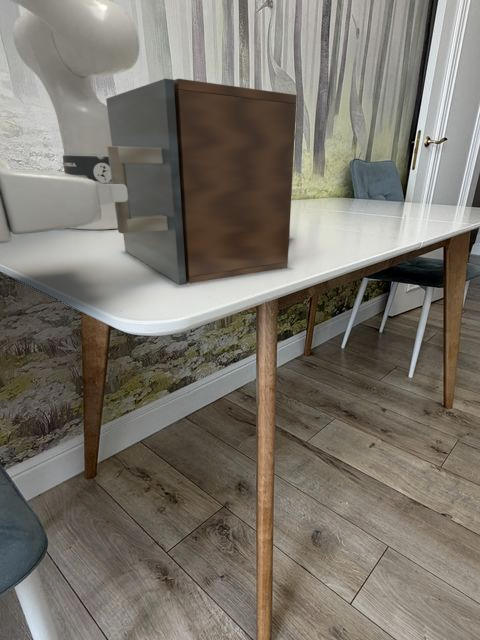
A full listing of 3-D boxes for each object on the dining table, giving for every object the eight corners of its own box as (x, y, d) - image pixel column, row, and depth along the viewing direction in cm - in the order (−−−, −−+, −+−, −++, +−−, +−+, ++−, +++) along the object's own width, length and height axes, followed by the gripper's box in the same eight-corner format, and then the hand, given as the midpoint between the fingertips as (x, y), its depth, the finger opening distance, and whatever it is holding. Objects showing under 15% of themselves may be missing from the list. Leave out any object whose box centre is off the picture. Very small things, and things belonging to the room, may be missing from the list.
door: (133, 291, 47) (106, 70, 37) (88, 254, 63) (61, 94, 53) (186, 283, 50) (174, 79, 40) (131, 250, 66) (113, 99, 57)
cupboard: (189, 284, 50) (177, 78, 41) (132, 251, 66) (114, 98, 57) (287, 268, 59) (297, 94, 49) (216, 242, 75) (212, 108, 65)
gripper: (-19, 215, 47) (102, 209, 54) (-11, 248, 31) (156, 234, 38) (-35, 156, 44) (94, 158, 51) (-36, 160, 29) (149, 162, 36)
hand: (121, 191), depth 44 cm, fingers closed on door, 2 cm apart
